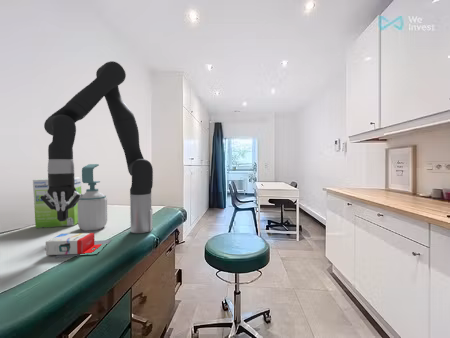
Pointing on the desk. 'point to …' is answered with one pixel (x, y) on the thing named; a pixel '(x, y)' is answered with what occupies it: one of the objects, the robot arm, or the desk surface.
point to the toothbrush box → (47, 215)
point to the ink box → (71, 244)
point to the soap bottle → (91, 203)
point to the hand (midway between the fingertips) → (62, 220)
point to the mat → (79, 254)
